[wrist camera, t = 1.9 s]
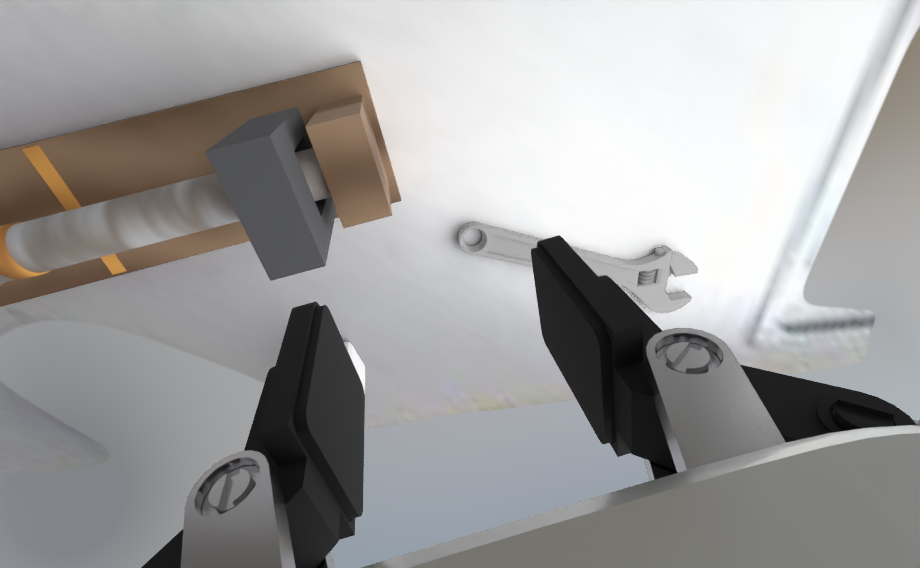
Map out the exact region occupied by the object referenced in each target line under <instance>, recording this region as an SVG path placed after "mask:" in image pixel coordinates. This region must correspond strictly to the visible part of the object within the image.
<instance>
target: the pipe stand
mask: <svg viewBox="0 0 920 568" xmlns="http://www.w3.org/2000/svg"><path fill="white" fill-rule="evenodd" d="M296 107H298V109H299V112H300V114H301V117H302V120H303V122H304V125H305V128H306V131H307V133H308V136H309V138H310V141H311V144H312V146H313V148H311V149H307V150H303V151H299V152H295V153H296V156H297V158H298V161H299V163H300V166H301V168H302V171H303V173H304V176H305V178H306V181H307V183H308V186H309V188H310V191H311V193H312V196H313V198H314V201H318V200H322V199H326V198H329V197H332V199H333V202H334V204H335V207H336V214H335V218H338V217H340V220H341V223H342V225H343V228H346V227H350V226H354V225H358V224H361V223H365V222H369V221H373V220H376V219H380V218H384V217H388V216H392V212H391V203H395V202H399V201H401V197H400V194H399V190H398V187H397V183H396V180H395V176H394V173H393V170H392V166H391V163H390V159H389V156H388V153H387V149H386V146H385V142H384V139H383V136H382V132H381V129H380V125H379V122H378V119H377V115H376V112H375V108H374V105H373V102H372V98H371V95H370V91H369V88H368V85H367V81H366V78H365V74H364V71H363V68H362V64H361V61H358V62H354V63H350V64H346V65H342V66H338V67H334V68H330V69H326V70H322V71H317V72H313V73H309V74H305V75H301V76H297V77H293V78H289V79H285V80H281V81H277V82H273V83H269V84H265V85H261V86H257V87H253V88H249V89H245V90H241V91H237V92H233V93H229V94H225V95H221V96H217V97H213V98H209V99H205V100H201V101H197V102H193V103H189V104H185V105H181V106H177V107H173V108H169V109H165V110H160V111H156V112H152V113H148V114H144V115H140V116H136V117H132V118H128V119H124V120H120V121H116V122H112V123H108V124H104V125H100V126H96V127H92V128H88V129H84V130H80V131H76V132H72V133H68V134H64V135H60V136H56V137H52V138H48V139H44V140H40V141H36V142H32V143H28V144H24V145H20V146H16V147H12V148H8V149H3V150H0V307H1V306H5V305H8V304H12V303H16V302H20V301H24V300H27V299H31V298H35V297H39V296H43V295H46V294H50V293H54V292H58V291H61V290H65V289H69V288H73V287H77V286H80V285H84V284H88V283H92V282H96V281H99V280H103V279H107V278H111V277H115V276H118V275H122V274H126V273H130V272H133V271H137V270H141V269H145V268H149V267H152V266H156V265H160V264H164V263H168V262H171V261H175V260H179V259H183V258H186V257H190V256H194V255H198V254H202V253H205V252H209V251H213V250H217V249H221V248H224V247H228V246H232V245H236V244H240V243H243V242H247V241H250V239H249V237H248V235H247V234H246V232H245V230H244V228H243V226H242V224H241V222H240V220H239V218H238V216H237V214H236V212H235V210H234V208H233V206H232V204H231V202H230V200H229V198H228V196H227V194H226V192H225V190H224V189H223V187H222V185H221V183H220V181H219V179H218V177H217V175H216V173H215V171H214V169H213V167H212V165H211V163H210V161H209V159H208V157H207V155H206V153H205V151H207V150H208V149H209V148H211V147H212V146H214V145H215V144H216V143H218V142H219V141H221V140H222V139H223V138H225V137H226V136H228V135H229V134H230V133H232V132H233V131H235V130H236V129H237V128H239V127H240V126H242V125H243V124H244V123H246V122H247V121H249V120H250V119H252V118H256V117H260V116H264V115H268V114H272V113H276V112H280V111H284V110H288V109H292V108H296Z"/></svg>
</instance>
